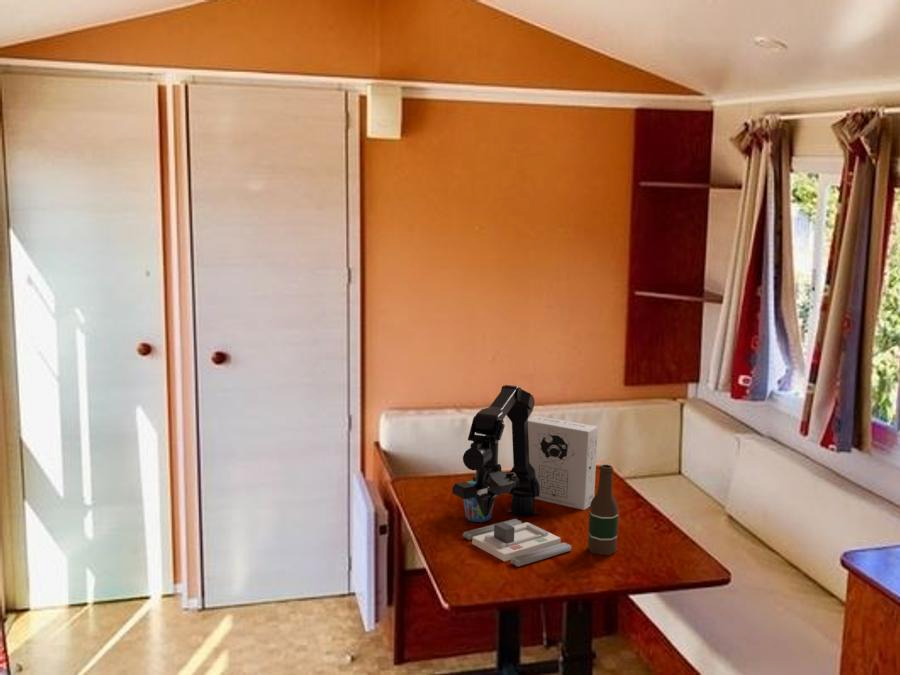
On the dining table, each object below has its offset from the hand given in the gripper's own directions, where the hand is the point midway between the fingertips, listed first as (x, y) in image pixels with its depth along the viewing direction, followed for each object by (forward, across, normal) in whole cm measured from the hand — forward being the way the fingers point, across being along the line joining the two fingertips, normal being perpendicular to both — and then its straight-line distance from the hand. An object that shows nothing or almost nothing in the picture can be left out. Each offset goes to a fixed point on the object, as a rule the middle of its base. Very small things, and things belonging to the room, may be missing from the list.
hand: (485, 516), depth 240 cm
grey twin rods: (+11, +11, 0) cm, 16 cm away
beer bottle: (+11, +28, -16) cm, 34 cm away
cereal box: (+11, +46, +20) cm, 51 cm away
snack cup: (+11, +14, +21) cm, 28 cm away
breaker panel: (+11, +11, 0) cm, 16 cm away
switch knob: (+8, +7, 0) cm, 11 cm away
